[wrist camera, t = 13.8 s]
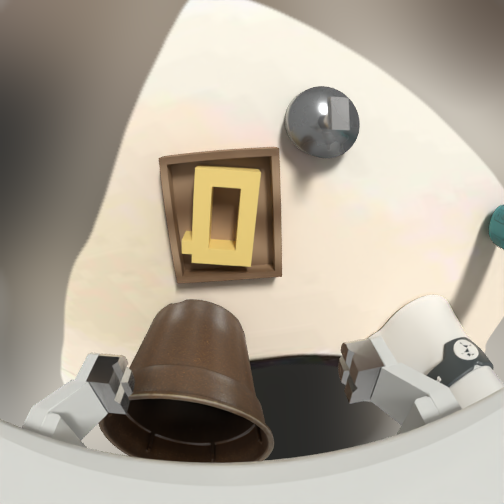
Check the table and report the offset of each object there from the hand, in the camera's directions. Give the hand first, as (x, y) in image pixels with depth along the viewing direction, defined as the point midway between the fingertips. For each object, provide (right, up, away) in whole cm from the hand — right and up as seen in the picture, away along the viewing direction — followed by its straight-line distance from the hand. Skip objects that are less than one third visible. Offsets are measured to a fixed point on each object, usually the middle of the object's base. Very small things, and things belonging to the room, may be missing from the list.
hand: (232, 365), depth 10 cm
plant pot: (-6, -7, +26) cm, 28 cm away
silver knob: (+7, +17, +16) cm, 25 cm away
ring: (-2, +8, +19) cm, 21 cm away
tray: (-2, +8, +20) cm, 21 cm away
